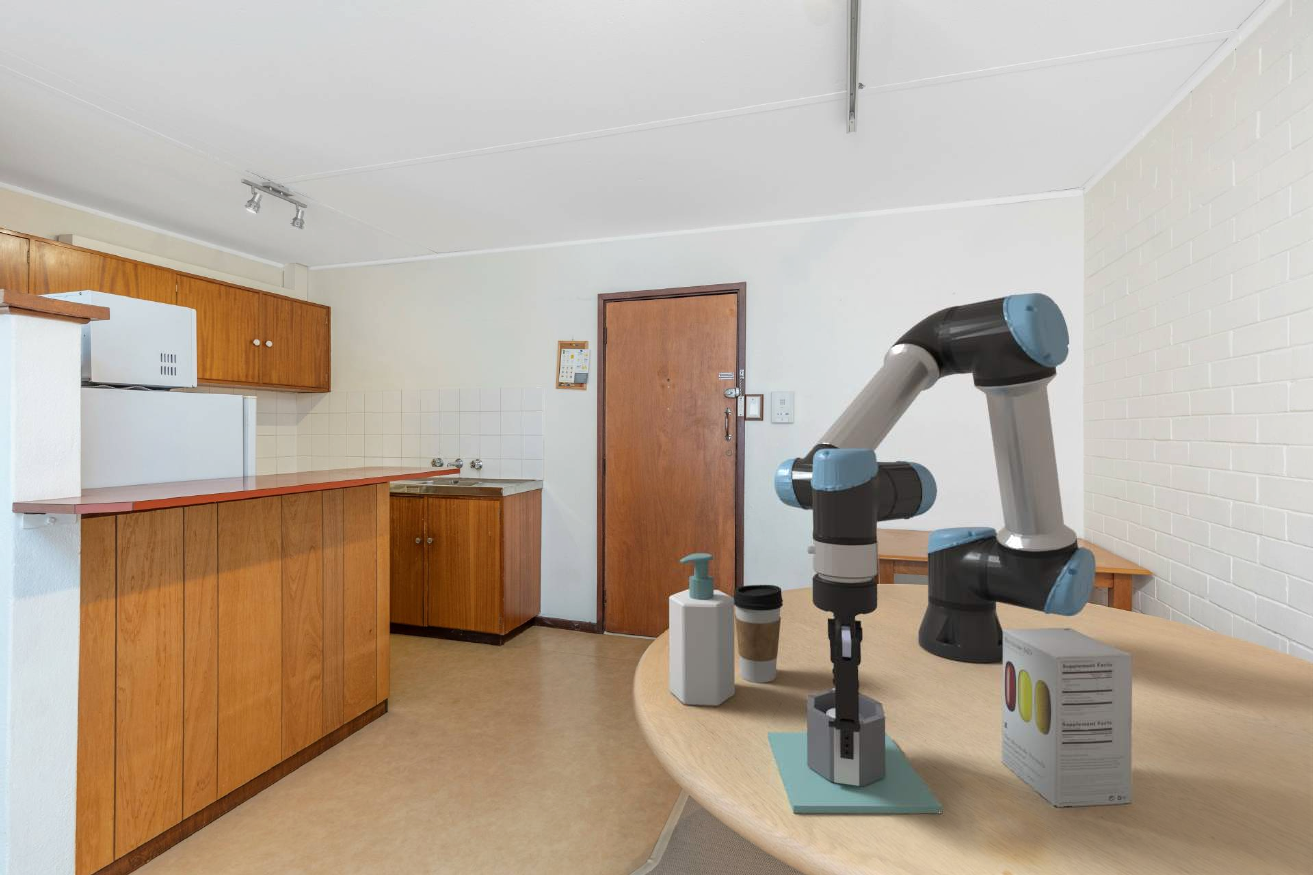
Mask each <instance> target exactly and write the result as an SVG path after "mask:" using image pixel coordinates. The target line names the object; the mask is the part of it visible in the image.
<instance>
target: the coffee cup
mask: <svg viewBox="0 0 1313 875" xmlns="http://www.w3.org/2000/svg"><path fill="white" fill-rule="evenodd" d="M732 597H733V598H734V607H735V614H734V621H735V630H736V639H737V649H738V657H739V671H740V676H741V678H742V679H743V680H746V681H748V682H751V683H756V684H757V683H762V684H763V683H764V684H765V683H770V682H772V681H774V680H775V679H776V676H777V660H778V652H779V643H780V642H779V641H780V630H781V619H782V617H781V608H782V607H783V605H784V604H783V602H784V600H783V594H782V588H781V587H779V586H777V585H774V584H748V585H741V586H738V587H736V588H735V589H734V592H733V596H732Z"/></svg>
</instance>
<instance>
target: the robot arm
mask: <svg viewBox="0 0 1313 875" xmlns="http://www.w3.org/2000/svg"><path fill="white" fill-rule="evenodd" d="M1069 345H1070V336H1069V328H1068V326H1067V323H1066V320H1065V317H1064V314H1063V313H1062V310H1061V309H1060V307H1059V306H1058V304H1056V302H1055V301H1054V300H1053V298H1051V297H1050V296H1048V295H1046V294H1044V293H1041V292H1031V293H1022V294H1021V293H1020V294H1010V295H1007V296H1002V297H997V298H993V299H987V300H983V301H982V300H981V301H977V302H973V303H968V304H962V305H954V306H949V307H946V308H944V309H941V310H938V311H936V312H934V313H932V314H930V315H927V317H925V318H924V319H922V320H920V321H919V322H918V323H916V324H915V325H913V326H912V327H911V328H910V329H909V330H907V331H906V332H905V333H904V334H903V335H901V336H900V337H899V338H898V339H897V340H896V341H895V343H893V345H892V346H891V347H890V348H889V349H888V350H887V352H886V353H885V355H884V357H883V365H882V367H880V369H879V370H878V371H877V372H876V373H875V375H873V377H872V378H871V379H870V380H869V382H868V383H867V384H866V385H865V386H864V387H863V389H862V390H860V392H859V393H858V395H856V397H855V398H854V399H853V400H852V401H851V403H850V404H849V405H848V406H847V407H846V408H845V410H844V411H842V413H841V414H840V416H839V417H838V418H836V419H835V421H834V422H833V424H832V425H831V426H830V427H829V429H827V431H826V432H825V433H824V434H823V436H822V437H821V438H820V439H819V440H818V441H817V443H816V444H814V446H813V447H812V448H811V450H810V451H809V452H808V453H807V454H806V455H805V457H799V456H798V457H795V458H788V459H786V460H784V461H782V462H781V463H780V464H779V465H778V467H777V469H776V471H775V475H774V479H773V480H774V481H773V487H774V491H775V493H776V495H777V498H778V499H779V500H780V501H781V503H783V504H784V505H786V506H788V507H792V508H798V509H802V510H804V511H809V510H811V511H812V543H813V544H812V545H811V546H807V549H806V550H807V553H808V554H809V555H813V557H812V570H813V571H814V572H815V574H814V576H813V577H812V603H813V605H814V606H815V607H816V608H817V609H819V610H821V611H822V612H823V611H824V612H826V613H827V612H829V613H831V614H833V617H832V618H829V617H828V618H827V638H828V640H829V648H830V649H829V650H830V651H829V655H830V658H829V660H830V662H831V663H832V664H833V668H832V672H831V673H832V674H833V678H832V684H833V688H832V690H835V719H834V721H829V727H834V782H836V783H843V784H849V785H856V786H859V731H860V723H859V693H860V691H859V689H860V680H859V666H860V665H861V663H862V651H861V650H862V646H861V644H862V642H863V638H864V637H863V636H864V635H863V633H864V632H863V627H862V621H861V620H856V616H859V615H868V614H872V613H873V612H874V611H876V609H877V608H878V581H877V580H876V579H875V576H877V575H878V572H879V570H878V569H879V567H878V566H879V564H878V563H879V562H878V561H879V560H878V558H879V557H878V554H879V553H878V547H879V546H878V542H879V541H878V536H877V535H878V534H877V533H878V532H877V531H878V522H879V523H880V522H887V521H896V520H897V521H898V520H902V519H903V520H910V518H911V519H913V518H914V517H917V516H921V515H924V514H926V513H927V512H928V511H929V510H930V509H931V508H932V507H933V505H934V504H935V502H936V499H937V496H938V489H937V488H938V487H937V483H936V480H935V477H934V476H933V473H932V472H931V471H930V470H929V469H928V468H927V467H925V466H924V465H922V464H920V463H918V462H915V461H914V462H913V461H907V460H903V461H902V460H896V461H877V453H876V452H875V451H876V449H877V448H878V447H879V446H880V445H881V443H883V441H884V439H885V438H886V437H887V436H888V434H890V432H891V431H892V429H893V428H894V427H895V426H896V424H897V423H898V422H899V420H900V419H901V418H902V416H903V415H904V414H905V413H906V412H907V411H908V409H909V408H910V406H911V405H912V403H913V402H914V401H915V400H916V399H917V397H918V396H919V395H920V394H921V392H924V391H926V390H929V389H931V388H933V386H934V385H935V384H937V382H938V381H939V379H942V378H945V377H948V376H952V375H962V374H963V375H965V374H972V379H973V380H972V381H973V384H974V387H975V388H976V389H977V390H979V391H981V392H982V393H984V395H985V398H986V402H987V403H986V404H987V411H988V417H989V418H988V419H989V424H990V430H991V431H990V432H991V437H992V438H991V439H992V445H993V453H994V461H995V467H996V474H997V479H998V480H997V482H998V486H999V487H998V488H999V496H1000V501H1001V508H1002V515H1003V516H1002V517H1003V521H1004V522H1003V523H1004V526H1003V527H1002V528H1001V529H1000V530H999V531H998V532H997V530H996V529H995V528H994V527H988V526H961V527H948V528H946V527H945V528H940V529H936V530H933V531H932V532H931V533H929V536H928V540H927V551H926V555H927V606H926V609H925V612H924V615H923V617H922V621H921V623H920V626H919V629H918V636H917V637H918V640H917V641H918V645H919V646H920V647H921V648H922V649H923V650H925V651H927V652H929V653H931V654H932V655H933V654H934V655H937V656H938V657H941V658H945V659H950V660H956V661H961V662H967V663H968V662H969V663H994V662H1000V661H1003V630H1004V629H1003V628H1002V624H1001V622H1000V619H999V616H998V614H997V603H1000V604H1005V605H1009V606H1013V607H1018V608H1023V609H1029V610H1032V611H1036V612H1037V611H1038V612H1042V613H1044V614H1045V615H1050V614H1051V615H1058V616H1061V617H1062V616H1063V617H1072V616H1076V615H1078V614H1079V613H1081V612H1082V610H1083V609H1084V608H1085V607H1086V605H1087V604H1088V601H1089V599H1090V596H1091V593H1092V591H1093V587H1094V583H1095V580H1096V579H1095V577H1096V566H1097V565H1096V557H1095V555H1094V553H1093V551H1092V550H1091V549H1089V548H1086V547H1085V546H1081V547H1079V545H1078V544H1079V543H1078V538H1077V536H1078V535H1077V533H1076V532H1075V530H1073V529H1072V528H1071V527H1069V526H1068V525H1066V524H1065V522H1064V521H1065V520H1064V514H1063V505H1062V498H1061V491H1060V490H1061V488H1060V481H1059V472H1058V465H1057V459H1056V458H1057V457H1056V451H1055V450H1056V449H1055V443H1054V442H1055V440H1054V434H1053V428H1052V427H1053V426H1052V418H1051V417H1052V416H1051V409H1050V403H1049V401H1050V400H1049V394H1048V385H1049V384H1050V383H1051V382H1052V381H1053V379H1055V377H1056V376H1057V375H1058V374H1057V368H1056V367H1058V366H1059V365H1060V366H1061V365H1062V364H1063V363H1064V362H1065V361H1066V360H1067V357H1068V355H1069V350H1070V349H1069Z"/></svg>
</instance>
